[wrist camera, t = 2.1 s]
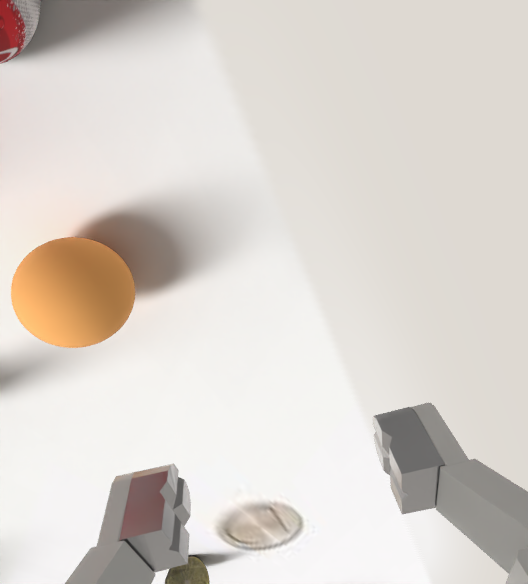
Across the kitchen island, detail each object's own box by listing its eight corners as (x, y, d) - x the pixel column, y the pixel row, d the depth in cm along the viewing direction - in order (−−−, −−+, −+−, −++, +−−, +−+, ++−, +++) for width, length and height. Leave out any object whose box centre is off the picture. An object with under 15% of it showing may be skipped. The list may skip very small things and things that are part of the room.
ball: (17, 234, 21) (-44, 289, 16) (118, 209, 21) (88, 256, 16) (69, 315, 24) (32, 382, 19) (157, 294, 24) (142, 356, 19)
